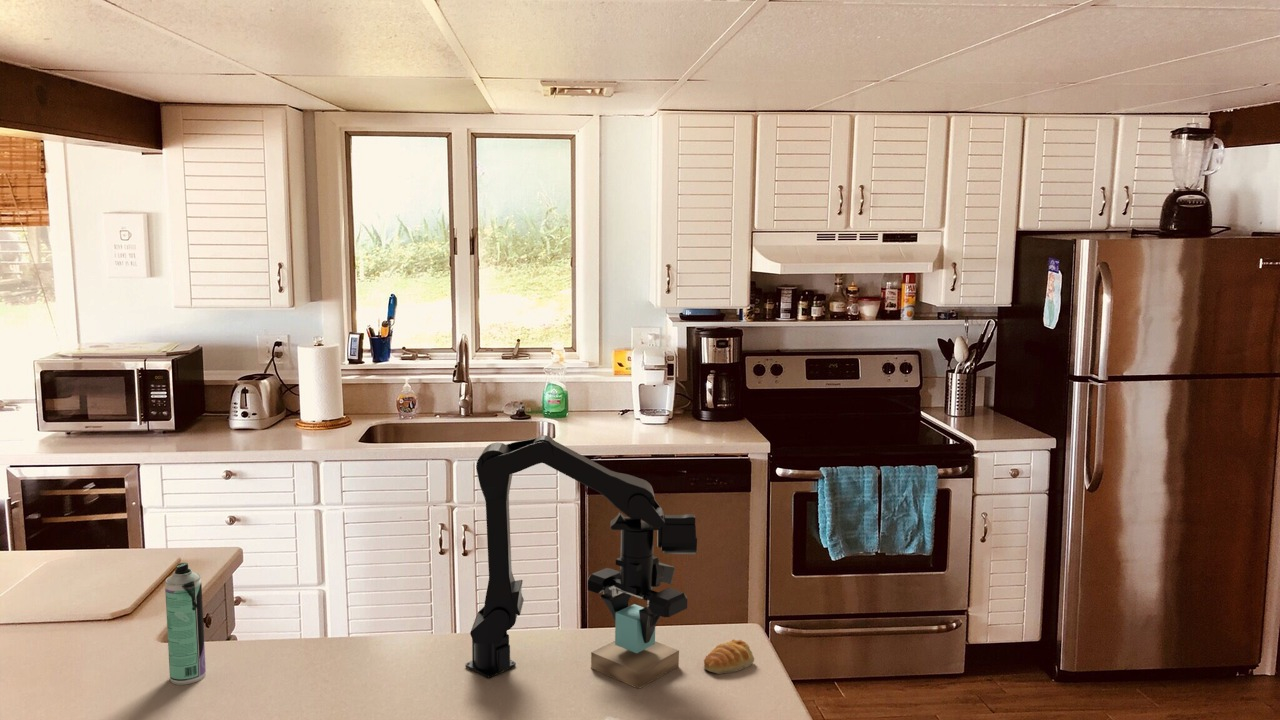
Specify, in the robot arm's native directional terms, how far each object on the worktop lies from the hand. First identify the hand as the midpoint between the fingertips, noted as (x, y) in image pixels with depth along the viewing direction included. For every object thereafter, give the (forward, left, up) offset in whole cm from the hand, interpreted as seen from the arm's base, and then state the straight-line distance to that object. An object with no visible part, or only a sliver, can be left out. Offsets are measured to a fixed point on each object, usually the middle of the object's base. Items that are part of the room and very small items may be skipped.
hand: (635, 637), depth 162 cm
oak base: (0, 0, -6) cm, 6 cm away
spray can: (-54, -54, -6) cm, 77 cm away
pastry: (+12, +12, -6) cm, 18 cm away
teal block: (0, 0, -1) cm, 1 cm away
